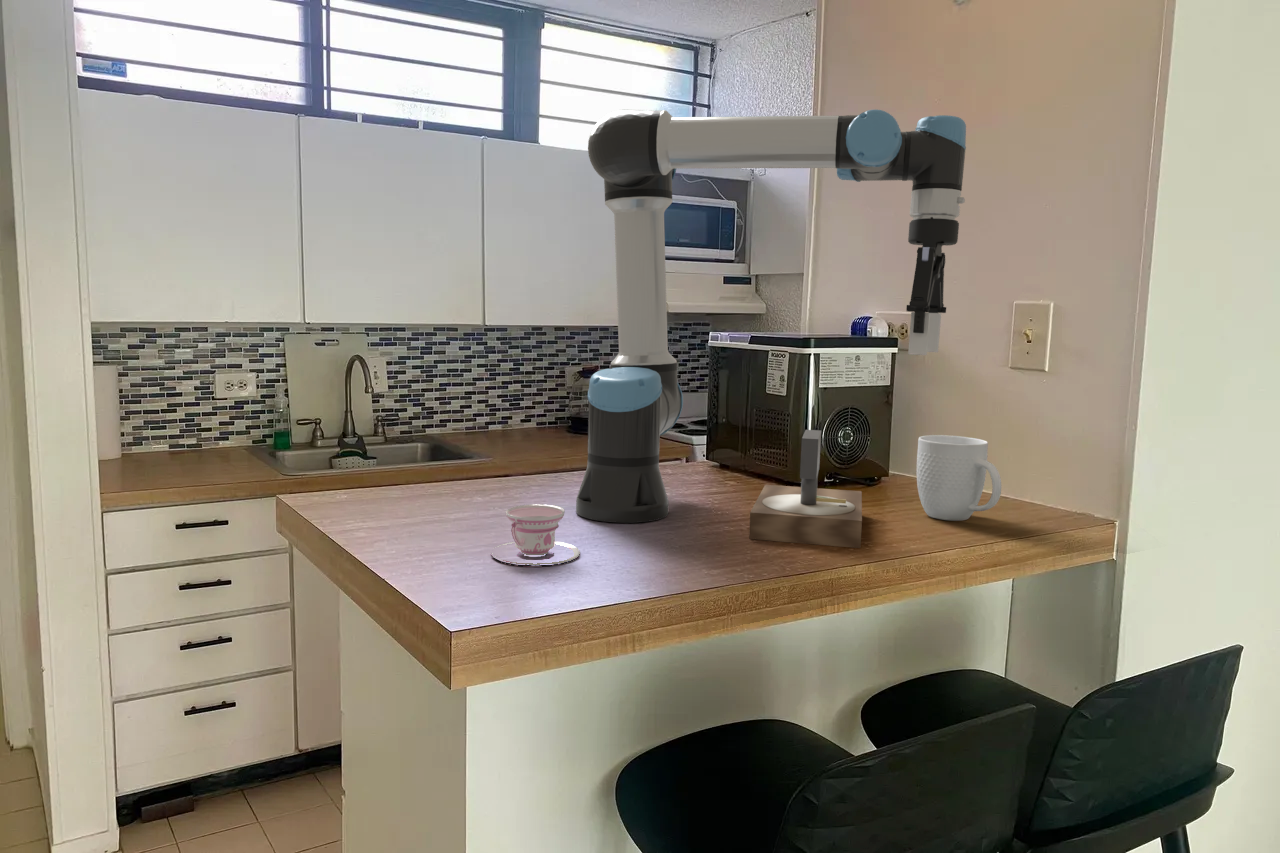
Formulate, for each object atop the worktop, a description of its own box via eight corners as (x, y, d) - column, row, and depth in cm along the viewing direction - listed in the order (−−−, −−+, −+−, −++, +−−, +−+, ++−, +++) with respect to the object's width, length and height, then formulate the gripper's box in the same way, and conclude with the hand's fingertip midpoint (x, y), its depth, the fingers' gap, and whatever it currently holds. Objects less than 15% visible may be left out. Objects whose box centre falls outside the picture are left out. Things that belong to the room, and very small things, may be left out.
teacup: (527, 540, 131) (527, 498, 130) (596, 553, 125) (597, 509, 124) (472, 558, 120) (472, 513, 120) (545, 574, 114) (546, 526, 114)
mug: (1017, 524, 147) (1023, 445, 145) (974, 532, 141) (980, 449, 139) (941, 506, 159) (946, 433, 157) (899, 513, 153) (904, 437, 151)
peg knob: (798, 509, 134) (801, 438, 133) (802, 496, 144) (805, 429, 143) (845, 513, 133) (849, 440, 131) (846, 499, 142) (849, 432, 141)
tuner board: (749, 538, 134) (750, 510, 133) (764, 507, 155) (765, 482, 154) (860, 548, 130) (862, 518, 129) (860, 514, 151) (861, 489, 151)
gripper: (949, 210, 131) (937, 357, 134) (967, 226, 153) (956, 352, 156) (896, 211, 134) (886, 354, 137) (921, 226, 156) (911, 349, 159)
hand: (923, 353), depth 146 cm, fingers open, 13 cm apart
